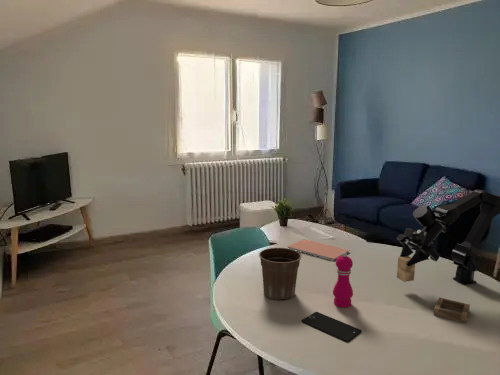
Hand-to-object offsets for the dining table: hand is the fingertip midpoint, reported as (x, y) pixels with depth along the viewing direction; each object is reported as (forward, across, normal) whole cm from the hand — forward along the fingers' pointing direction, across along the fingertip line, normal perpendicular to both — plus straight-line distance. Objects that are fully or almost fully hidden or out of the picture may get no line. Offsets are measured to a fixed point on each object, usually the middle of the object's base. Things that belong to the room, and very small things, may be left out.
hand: (403, 263), depth 156 cm
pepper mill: (+28, +2, -11) cm, 30 cm away
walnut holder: (+4, +20, +12) cm, 24 cm away
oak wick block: (+4, 0, +6) cm, 7 cm away
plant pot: (+41, -13, -25) cm, 50 cm away
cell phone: (+37, +15, -19) cm, 44 cm away
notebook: (+16, -52, +2) cm, 55 cm away
